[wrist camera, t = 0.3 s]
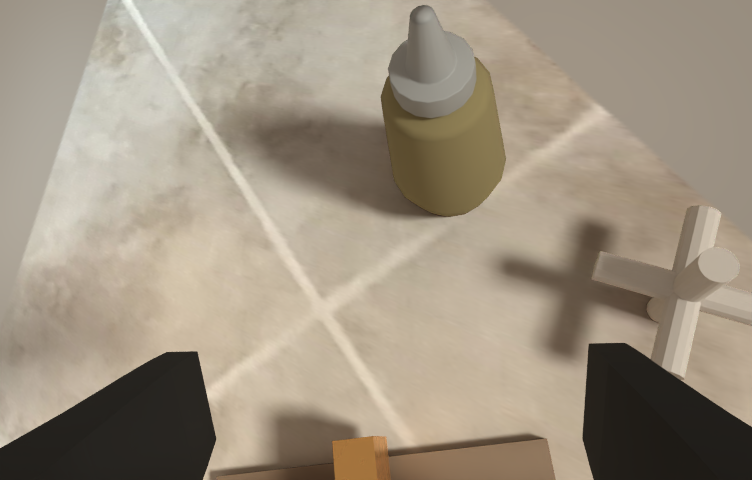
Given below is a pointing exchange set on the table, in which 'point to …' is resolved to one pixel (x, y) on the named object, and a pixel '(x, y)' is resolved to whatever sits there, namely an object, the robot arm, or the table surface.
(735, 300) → the pipe connector
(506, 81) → the table surface
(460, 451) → the flat brown board
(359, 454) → the disc with block handle
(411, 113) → the squeeze bottle
